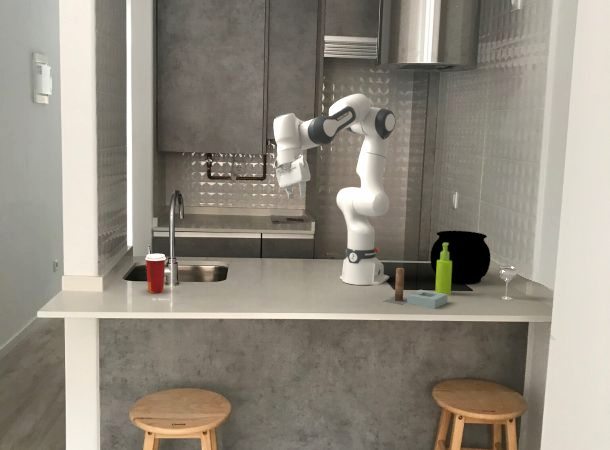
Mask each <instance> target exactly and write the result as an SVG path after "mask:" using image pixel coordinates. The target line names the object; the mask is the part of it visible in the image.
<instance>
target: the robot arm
mask: <svg viewBox="0 0 610 450" xmlns="http://www.w3.org/2000/svg"><path fill="white" fill-rule="evenodd" d="M396 124H397V123H396V115H395V113H394V112H393V111H392V110H390V109H388V108H384V107H383V108H382V107H380V108H379V107H377V106H376V107H373V106H371V102H370V99H369V98H368V96H366V95H365V94H363V93H354V94H350V95H347V96H345V97H342V98H340V99H339V100H337V101H336V102H334V103H333V104H332V105H331V106H330V107H329V110H328V115H319V116H317V117H314V118H312V119H310V120H306V121H304V120H301V119H299V118H298V117H297V116H296V115H295V113H294V112H287V113H283V114H280V115H277V116H276V117H275V118H274V120H273V135H274V139H275V140H274V141H275V143H276V145H277V147H276V148H277V149H276V153H277V154H276V155H277V156H276V159H275V161H274V163H273V166H274V168H275V173H276V179H277V183H278V186H279V188H280V189H284V190H285V192H286V194H287V199H288V200H293V199H295V193H293V187H294V186H296V185H298V186H299V190H298V195H299V196H300V197H305V196H306V188H307V185H306V184H307V183H306V182H308V181H311V176H312V175H311V171H310V168H309V164H308V162H307V160H306V159H305V157H304V154H303V150H304V151H305V150H308V149H313V148H315V147H319V146H324V145H328V144H330V143H332V142H333V141H334V139H335V138H336V137H337V135H338V133H339V132H340V131H341V130H345V129H346V131H348V132H350V133H353V134H361V135H364V139H363V142H362V146H361V149H360V153H359V156H358V161H357V165H356V168H355V171H356V175H358V176H359V178H360V187H356V186H355V187H354V186H349V187H343V188H341V189H340V190H339V191H338V193H337V195H336V205H337V207H338V208H339V210H340V211H341V212H342V215H343V217H344V220H345V224H346V229H347V247H345V248H346V249H345V256H346V257H345V258H344V259H343V265H342V274H341V275H339V280H342V282H343V283H346V284H351V285H355V286H356V285H357V286H358V285H359V286H366V285H367V286H368V285H371V286H373V285H374V286H376V285H378V286H379V285H381V284H383V283H384V282H386V281H388V280H389V279H390V276H389V275H387V274H384V272H385V271H384V270H385V269H384V268H385V267H384V264H383V263H382V262H381V261H380V260H379V259H378V258H377V254H379V251H380V249H379V247H375V234H376V232H375V228H374V227H373V225H371V223H370V221H369V219H368V217H379V216H381V217H382V216H384V215H385V214H386V213H387V212H388V210H389V207H390V199H389V196H388V195H387V193H386V192H385V189H384V183H383V182H384V179H383V178H384V171H385V167H386V161H387V158H388V152H389V144H390V143H389V141H390V138H389V136H390V135H391V134H392V133H393V132H394V129H395V127H396Z"/></svg>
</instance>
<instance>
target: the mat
mask: <svg viewBox="0 0 610 450" xmlns="http://www.w3.org/2000/svg"><path fill="white" fill-rule="evenodd" d="M383 302H384V303H388V304H389V303H390V304H396V305H401V306H403V305H406V304H407V297H403V301H395V296H393V297H390V298H387V299H385V300H383Z"/></svg>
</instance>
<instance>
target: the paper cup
mask: <svg viewBox="0 0 610 450" xmlns="http://www.w3.org/2000/svg"><path fill="white" fill-rule="evenodd" d="M166 259H167V258H166V255H165V254H163V253H149V254H146V257H145V259H144V260H146V261H145V262H146V263H145V264H146V265H145V266H146V278H147V289H148V290H147V291H148V293H150V294H162V293H164V286H165V269H166Z"/></svg>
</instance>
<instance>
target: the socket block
mask: <svg viewBox="0 0 610 450" xmlns="http://www.w3.org/2000/svg"><path fill="white" fill-rule="evenodd" d="M406 298H407V303H406V304H407V305H411V306H417V307H422V308H428V309H437V308H439V307H441V306H443V305H446V304H447V303H448V295H447V294H443V293H437V292H435V291H431V290H423V289H418V290H416V291H414V292H411V293H408V294H407V295H406Z"/></svg>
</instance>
